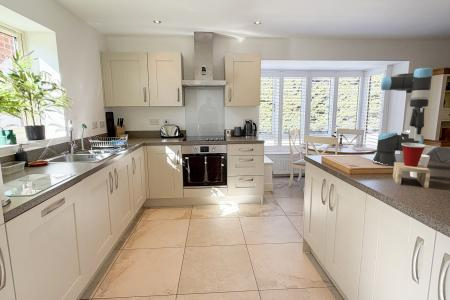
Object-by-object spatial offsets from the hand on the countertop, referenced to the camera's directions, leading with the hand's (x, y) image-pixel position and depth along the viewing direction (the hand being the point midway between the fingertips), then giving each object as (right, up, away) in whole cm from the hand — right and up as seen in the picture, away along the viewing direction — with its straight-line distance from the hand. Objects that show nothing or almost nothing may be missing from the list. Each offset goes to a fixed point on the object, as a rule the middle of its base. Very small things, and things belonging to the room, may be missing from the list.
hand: (414, 139), depth 132 cm
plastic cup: (0, -14, +3) cm, 15 cm away
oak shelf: (0, -23, +3) cm, 24 cm away
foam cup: (+13, -22, +15) cm, 30 cm away
